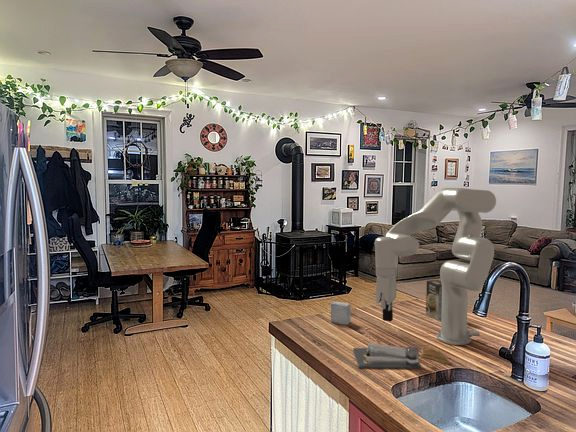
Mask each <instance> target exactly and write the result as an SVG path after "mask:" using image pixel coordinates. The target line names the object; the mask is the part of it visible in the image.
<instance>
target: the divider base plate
mask: <svg viewBox="0 0 576 432" xmlns="http://www.w3.org/2000/svg"><path fill="white" fill-rule="evenodd" d="M367 349H368V347H362V348H361V347H356V348H355V347H353V349H352V351H353V354H354V358H355V360H356V363H357V366H358V369H422V364H421V363H420V361H419V358H418V359H408V358H406V357H404V356H398V355H391V354H384V353H377V352H371V351H370V355H366V350H367Z"/></svg>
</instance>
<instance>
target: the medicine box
mask: <svg viewBox="0 0 576 432" xmlns="http://www.w3.org/2000/svg"><path fill="white" fill-rule="evenodd" d="M351 318H352V316H351V303H348V302H341V301H333V302H331V303H330V323H335V324H340V325H344V326H347V325H349V323H351V321H352V319H351Z"/></svg>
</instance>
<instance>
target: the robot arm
mask: <svg viewBox="0 0 576 432" xmlns="http://www.w3.org/2000/svg"><path fill="white" fill-rule="evenodd" d="M496 205H497V198H496V196H495V193H493V191H490V190H486V189H474V188H472V189H471V188H463V187H444V188H441V189H439V190H438V191H436V193H435V194H433V196H432V197H431V198H430V199H429V200H428V201H427V202H426V203H425V204H424V205H423V206H422V207H421V208H420V209H418V211H417V212H414V213H412V214H411V215H409V216H407V217H405V218H403V219H401V220H400V221H398V222H397V223H395V224H394V225H393V226H392V228H390V229H389V230H388V232H386V234H385V236H378V237H377V238H375V240H374V252H375V253H374V254H375V255H374V257H375V261H374V262H375V276H376V281H375V282H376V283H375V284H376V286H375V302H376V304H379V303H380V308H381V309H382V321H385V322H392V321H393V320H394V317H393V316H394V313H393V312H394V311H393V308H394V307H393V305H394V300H396V297H397V280H396V279H397V278H396V277H397V276H398V257H409V256H414V255H415V254H417V253H418V251H419V249H420V242H419V240H418V239H417V237H414V236H413V234H416V233H418V232H423V231H428V230H431V229H434V228H436V227H437V226H439V224H440V223H441V222H442V221H443V220H444V219H445V218H446V217H447V216H448V215H449V214H450V213H451V212H452V211H456V212H457V214H458V218H459V219H458V220H459V223H458V227H457V230H456V234H455V237H454V238H453V239H454V240H453V242H452V247H451V252H452V254H453V255H454V257H457V258H458V259H462V260H467V261H469V263H468V262H463V261H459V260H447V261H445V262H443V263H442V265H441V267H440V270H439V277H440V281H441V283H442V317H441V319H440V320H441V321H440V323H441V324H440V325H441V326H440V331H439V332H436V338H437V340H439V341H440V342H443V343H444V344H448V345H452V346H454V345H455V346H465V345H468V344H470V343H471V341H472V337H480V331H479V330H474V329H468V308H469V305H468V304H469V296H468V292H467V291H468V290H469V291H473V292H476V291H479V290H481V289H482V288H483V287H484V286H485V284H484V282H485V280H486V281H487V279H488V276H489V272H490V270H491V266H492V262H493V260H494V256H495V247H494V244H493V242H492V241H491V240H490V239H488V238H486V237H481V233H482V231H483V221H482V220H483V219H482V218H481V215H480V213H484V214H487V213H489V212H491V211H493V210H494V209H495V207H496ZM486 278H487V279H486ZM485 283H486V282H485ZM483 285H484V286H483Z"/></svg>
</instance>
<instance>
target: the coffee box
mask: <svg viewBox="0 0 576 432" xmlns="http://www.w3.org/2000/svg"><path fill="white" fill-rule="evenodd" d="M425 294H426V295H425V296H426V299H425V300H426V302H425V314H426V315H428V316H430V317H431V318H434V319H436V320H437V321H438V320H439V321H440V320H441V317H442V283H441V280H439V279H434V280H433V279H432V280H426V293H425Z"/></svg>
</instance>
